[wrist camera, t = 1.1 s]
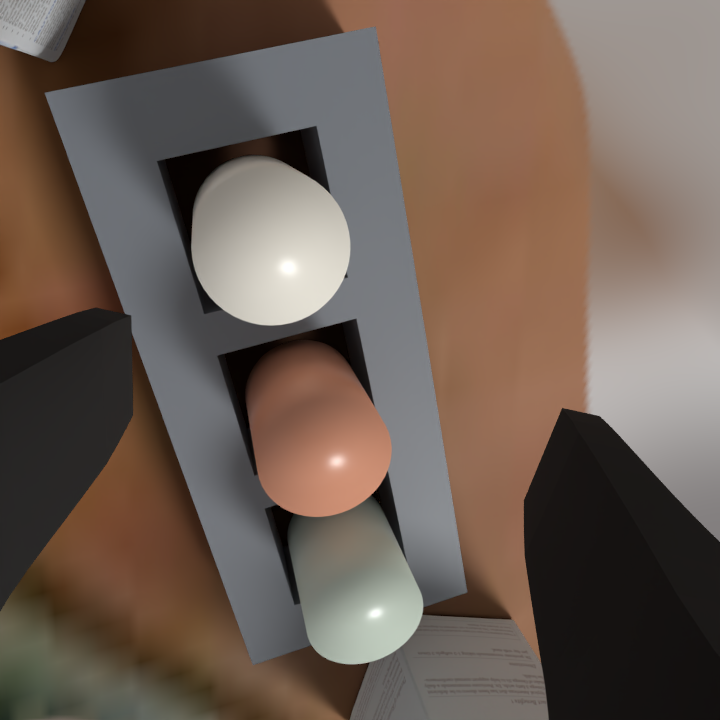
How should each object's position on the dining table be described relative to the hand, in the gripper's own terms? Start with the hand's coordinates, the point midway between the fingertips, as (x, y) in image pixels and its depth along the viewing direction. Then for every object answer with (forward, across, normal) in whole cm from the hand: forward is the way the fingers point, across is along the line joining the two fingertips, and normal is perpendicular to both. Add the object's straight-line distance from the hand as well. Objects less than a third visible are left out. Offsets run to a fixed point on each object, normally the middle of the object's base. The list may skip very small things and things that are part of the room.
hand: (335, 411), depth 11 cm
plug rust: (+9, +2, +6) cm, 11 cm away
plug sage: (+9, 0, +12) cm, 15 cm away
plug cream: (+10, +4, +1) cm, 11 cm away
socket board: (+12, +3, +7) cm, 14 cm away
